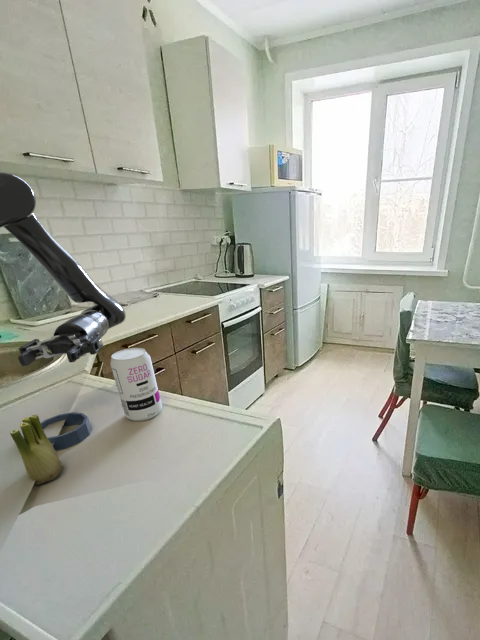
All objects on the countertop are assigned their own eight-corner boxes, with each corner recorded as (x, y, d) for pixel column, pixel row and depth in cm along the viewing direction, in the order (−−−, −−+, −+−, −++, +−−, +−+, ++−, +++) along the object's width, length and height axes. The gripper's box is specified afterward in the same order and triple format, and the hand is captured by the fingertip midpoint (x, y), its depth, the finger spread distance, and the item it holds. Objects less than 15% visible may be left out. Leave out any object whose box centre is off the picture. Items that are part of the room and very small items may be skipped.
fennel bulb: (39, 491, 60) (11, 433, 55) (24, 482, 62) (-4, 425, 57) (72, 471, 65) (49, 415, 59) (56, 463, 67) (33, 409, 62)
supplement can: (142, 402, 88) (127, 345, 81) (169, 406, 85) (156, 348, 78) (118, 419, 81) (99, 358, 74) (147, 424, 78) (130, 362, 71)
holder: (29, 455, 70) (24, 443, 68) (45, 429, 78) (40, 417, 77) (86, 444, 72) (81, 432, 71) (94, 420, 81) (91, 408, 80)
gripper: (41, 320, 79) (-2, 344, 65) (107, 315, 81) (79, 337, 66) (53, 351, 82) (13, 381, 68) (116, 346, 84) (90, 374, 69)
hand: (46, 359), depth 67 cm, fingers open, 8 cm apart
